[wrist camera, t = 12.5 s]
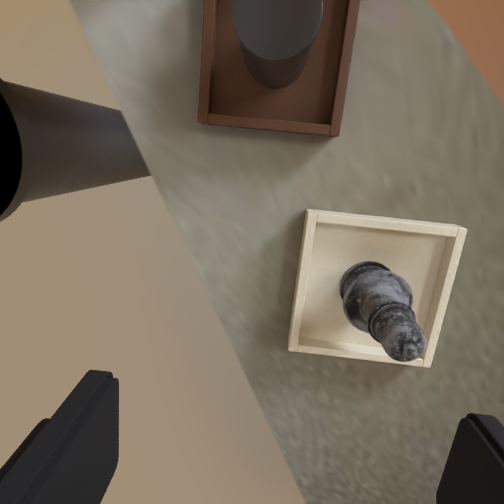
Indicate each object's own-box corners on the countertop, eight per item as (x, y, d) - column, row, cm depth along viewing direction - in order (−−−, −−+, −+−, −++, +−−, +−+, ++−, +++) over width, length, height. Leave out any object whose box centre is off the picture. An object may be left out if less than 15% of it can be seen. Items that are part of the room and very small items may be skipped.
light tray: (287, 340, 37) (288, 351, 35) (306, 208, 33) (308, 212, 31) (422, 356, 36) (430, 368, 35) (456, 224, 33) (467, 229, 31)
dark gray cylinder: (242, 85, 30) (228, 56, 21) (248, 17, 29) (235, -49, 19) (302, 91, 30) (315, 64, 20) (311, 23, 29) (329, -41, 19)
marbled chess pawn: (412, 286, 34) (483, 356, 23) (365, 327, 35) (410, 413, 24) (369, 245, 33) (420, 295, 22) (323, 288, 35) (347, 357, 23)
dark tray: (202, 123, 32) (197, 122, 30) (211, -32, 29) (206, -45, 27) (335, 137, 31) (339, 136, 29) (359, -19, 28) (365, -31, 26)
